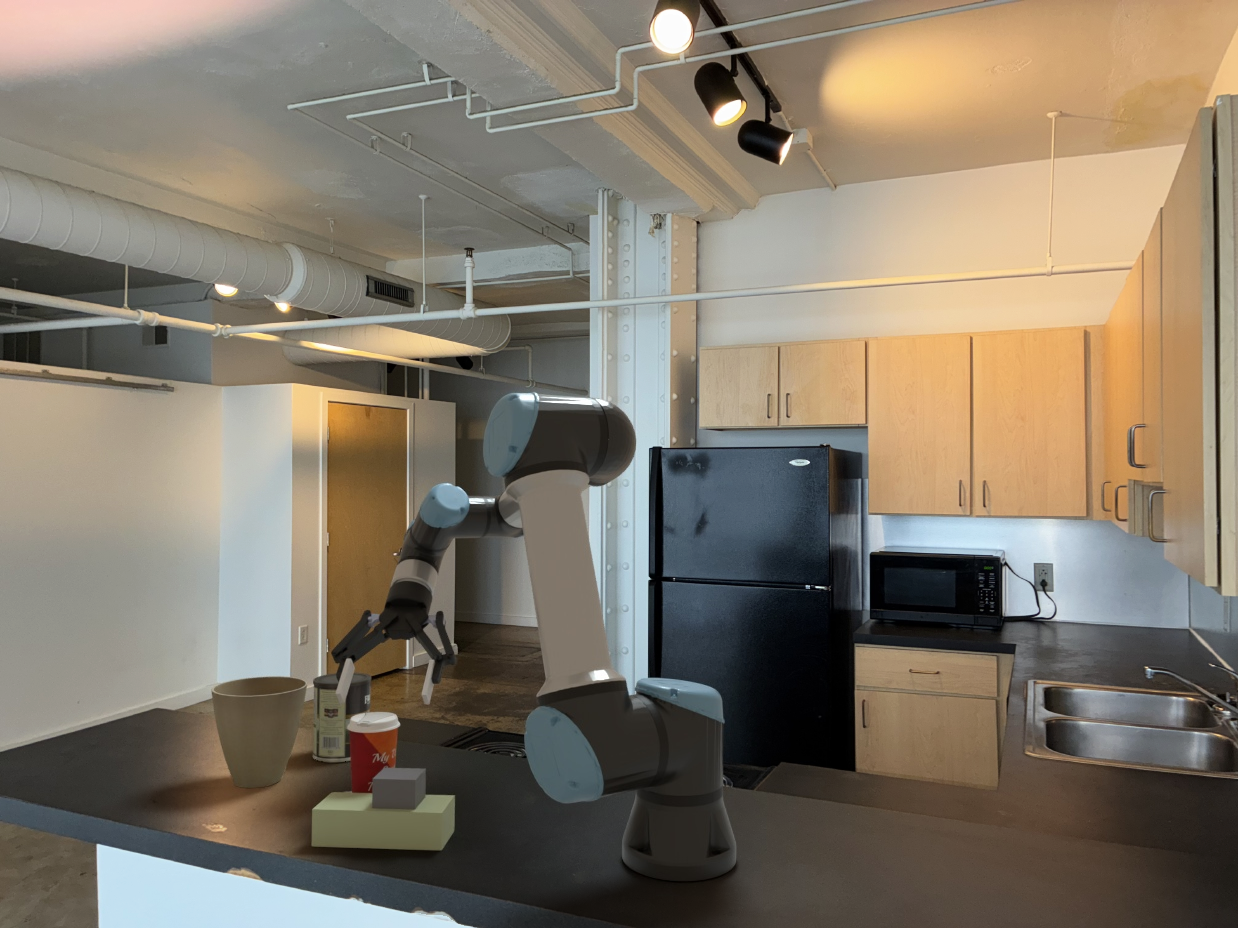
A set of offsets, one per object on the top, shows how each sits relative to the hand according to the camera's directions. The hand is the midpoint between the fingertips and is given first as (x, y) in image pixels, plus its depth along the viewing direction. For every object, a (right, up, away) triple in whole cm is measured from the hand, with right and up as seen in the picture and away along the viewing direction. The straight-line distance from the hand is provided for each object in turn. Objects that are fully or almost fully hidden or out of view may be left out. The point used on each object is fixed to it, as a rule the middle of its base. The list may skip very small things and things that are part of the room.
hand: (382, 699), depth 138 cm
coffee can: (-14, -17, +25) cm, 33 cm away
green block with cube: (+4, -16, -10) cm, 19 cm away
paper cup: (0, -15, -6) cm, 16 cm away
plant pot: (-23, -16, +10) cm, 30 cm away
